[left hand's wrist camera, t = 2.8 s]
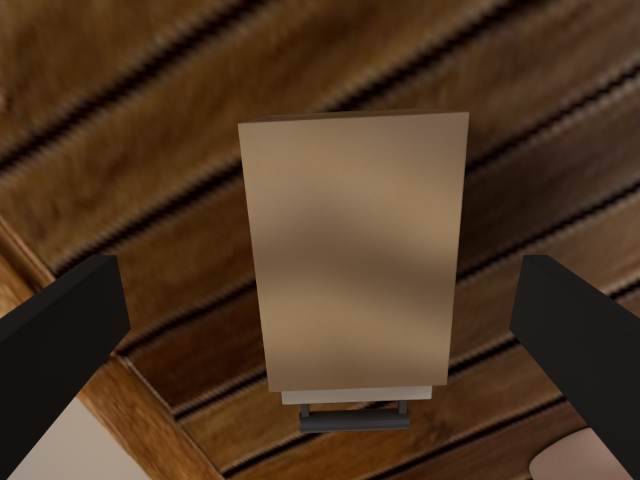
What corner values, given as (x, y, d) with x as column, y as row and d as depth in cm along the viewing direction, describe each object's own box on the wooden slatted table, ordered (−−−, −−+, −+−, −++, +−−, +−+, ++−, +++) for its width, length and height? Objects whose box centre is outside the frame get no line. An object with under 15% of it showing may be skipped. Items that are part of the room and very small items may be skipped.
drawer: (406, 390, 34) (427, 462, 27) (295, 394, 34) (289, 467, 27) (414, 153, 27) (447, 172, 20) (274, 160, 27) (258, 181, 20)
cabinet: (413, 310, 32) (447, 385, 24) (282, 315, 32) (269, 392, 24) (422, 107, 27) (470, 111, 18) (263, 115, 27) (237, 123, 18)
